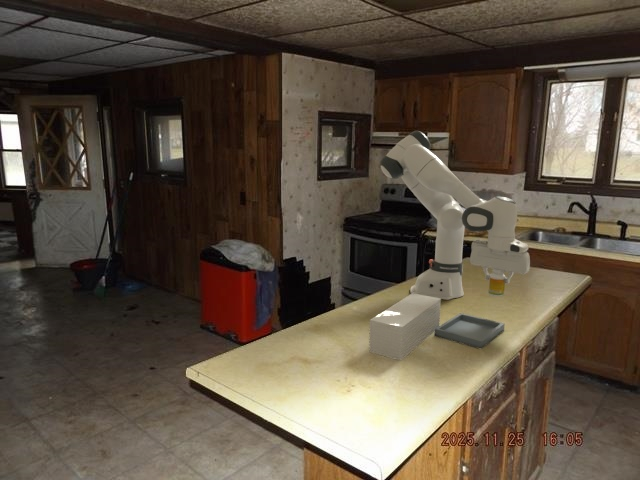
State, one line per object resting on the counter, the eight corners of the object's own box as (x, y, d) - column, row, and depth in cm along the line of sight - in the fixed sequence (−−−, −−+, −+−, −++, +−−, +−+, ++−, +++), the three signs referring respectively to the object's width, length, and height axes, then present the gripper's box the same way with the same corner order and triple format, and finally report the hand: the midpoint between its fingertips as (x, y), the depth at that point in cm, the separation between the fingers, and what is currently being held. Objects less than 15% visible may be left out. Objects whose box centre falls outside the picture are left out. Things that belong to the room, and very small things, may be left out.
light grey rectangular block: (400, 361, 142) (402, 327, 139) (369, 352, 147) (369, 319, 145) (439, 327, 168) (440, 298, 165) (411, 321, 173) (412, 293, 171)
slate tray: (481, 348, 149) (481, 341, 149) (434, 335, 160) (434, 328, 159) (504, 330, 164) (504, 323, 164) (460, 319, 175) (460, 313, 174)
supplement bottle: (505, 297, 169) (507, 271, 167) (489, 296, 170) (491, 269, 167) (502, 292, 174) (504, 267, 172) (486, 291, 175) (489, 266, 173)
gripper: (468, 240, 172) (465, 277, 175) (527, 249, 159) (523, 288, 162) (475, 237, 177) (472, 273, 179) (533, 246, 164) (529, 284, 167)
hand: (497, 281), depth 171 cm, fingers closed on supplement bottle, 5 cm apart
